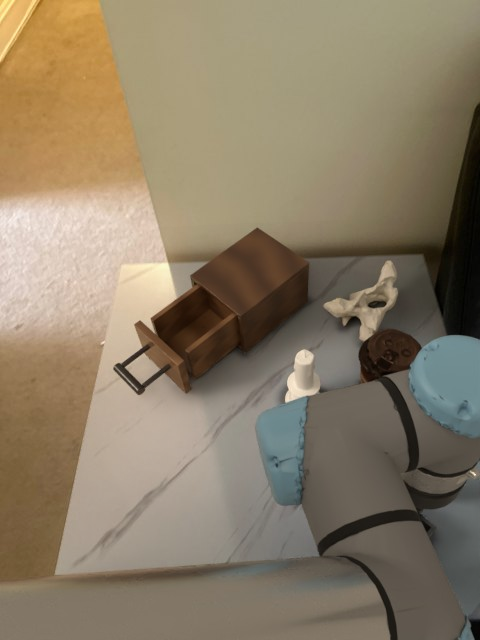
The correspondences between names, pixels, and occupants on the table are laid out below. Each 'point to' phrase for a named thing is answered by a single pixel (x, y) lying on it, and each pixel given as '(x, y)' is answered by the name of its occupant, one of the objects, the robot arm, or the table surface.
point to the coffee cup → (386, 354)
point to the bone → (368, 296)
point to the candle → (303, 377)
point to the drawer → (184, 339)
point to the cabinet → (256, 284)
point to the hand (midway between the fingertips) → (397, 528)
